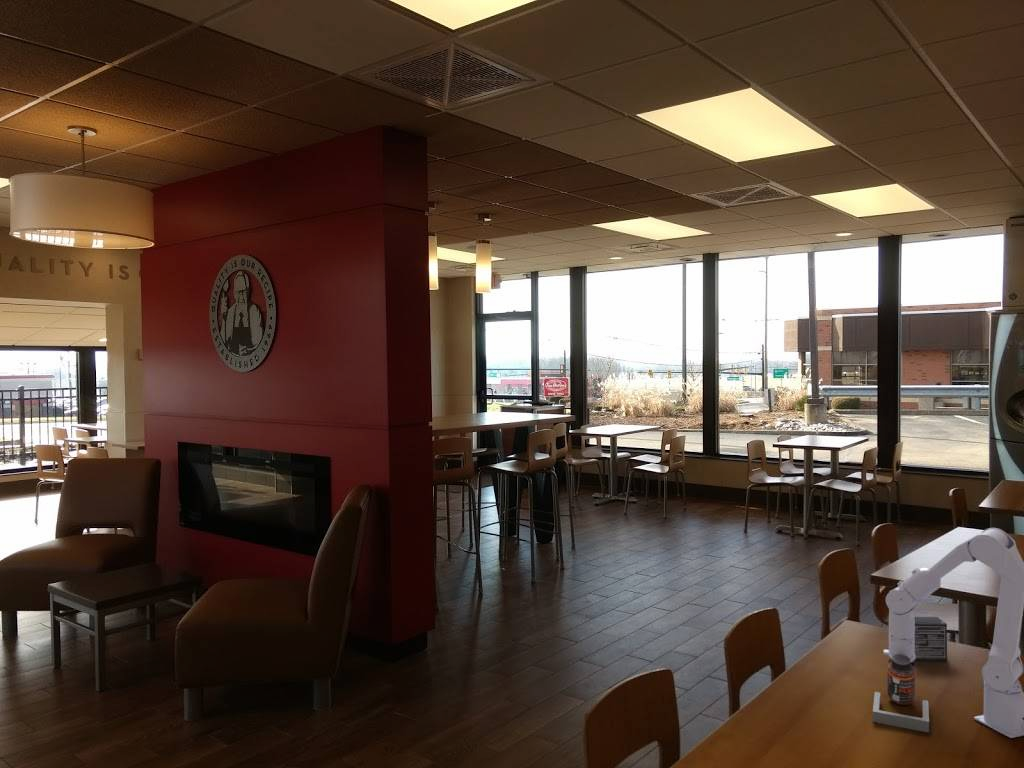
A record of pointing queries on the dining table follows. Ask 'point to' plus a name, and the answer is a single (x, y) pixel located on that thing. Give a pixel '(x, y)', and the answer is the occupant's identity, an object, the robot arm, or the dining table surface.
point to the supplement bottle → (901, 680)
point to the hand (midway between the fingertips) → (901, 689)
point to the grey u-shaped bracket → (901, 717)
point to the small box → (930, 639)
